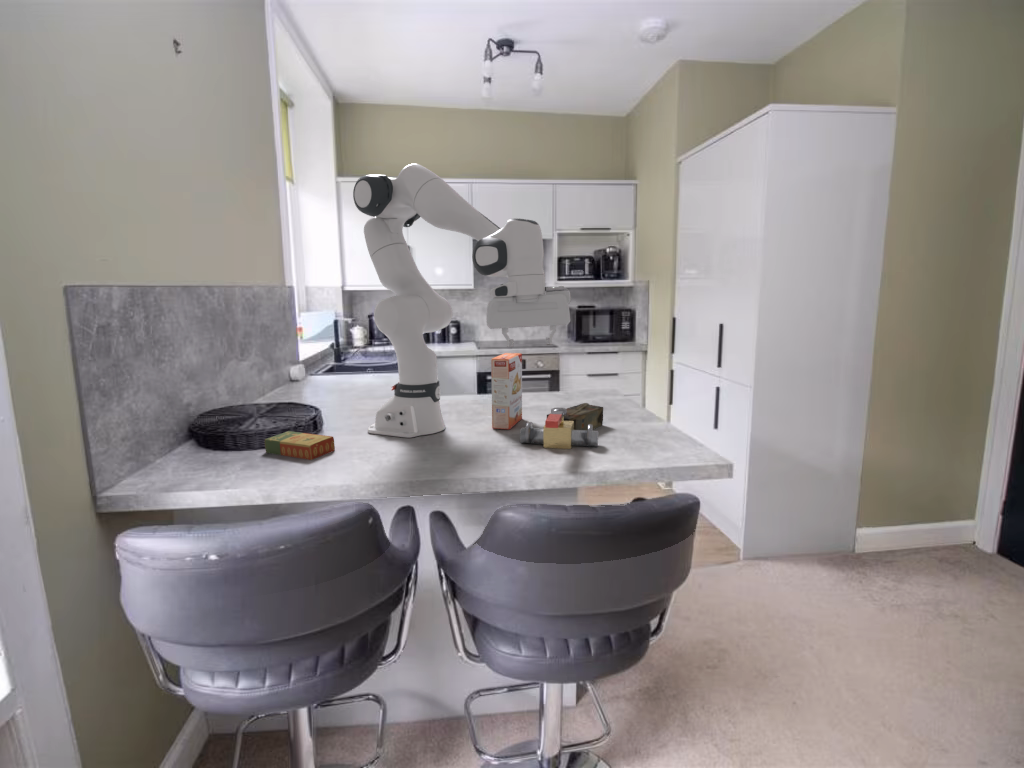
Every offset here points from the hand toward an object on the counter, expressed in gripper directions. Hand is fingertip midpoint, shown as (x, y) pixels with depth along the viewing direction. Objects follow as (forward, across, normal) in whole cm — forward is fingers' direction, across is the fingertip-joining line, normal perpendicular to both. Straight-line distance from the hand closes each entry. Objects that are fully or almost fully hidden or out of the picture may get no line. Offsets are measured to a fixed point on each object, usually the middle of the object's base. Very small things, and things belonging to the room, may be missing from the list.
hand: (529, 345), depth 126 cm
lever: (+19, -6, 0) cm, 20 cm away
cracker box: (+26, +9, -26) cm, 38 cm away
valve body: (+27, -6, -5) cm, 28 cm away
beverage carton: (+27, -11, -19) cm, 35 cm away
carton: (+25, +61, +2) cm, 66 cm away
